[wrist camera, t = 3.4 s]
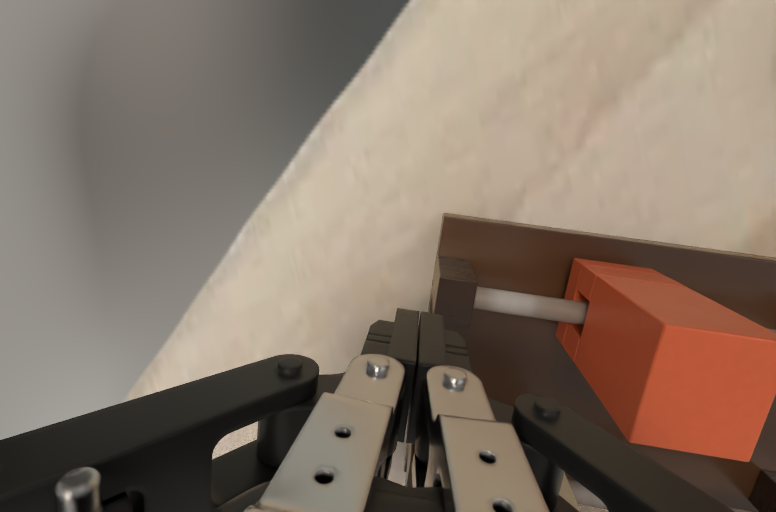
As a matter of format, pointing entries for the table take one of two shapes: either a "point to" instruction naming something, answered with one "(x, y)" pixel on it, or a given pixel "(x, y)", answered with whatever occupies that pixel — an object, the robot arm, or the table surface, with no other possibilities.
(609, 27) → the table surface
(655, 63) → the table surface
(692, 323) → the block
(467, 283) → the score board
